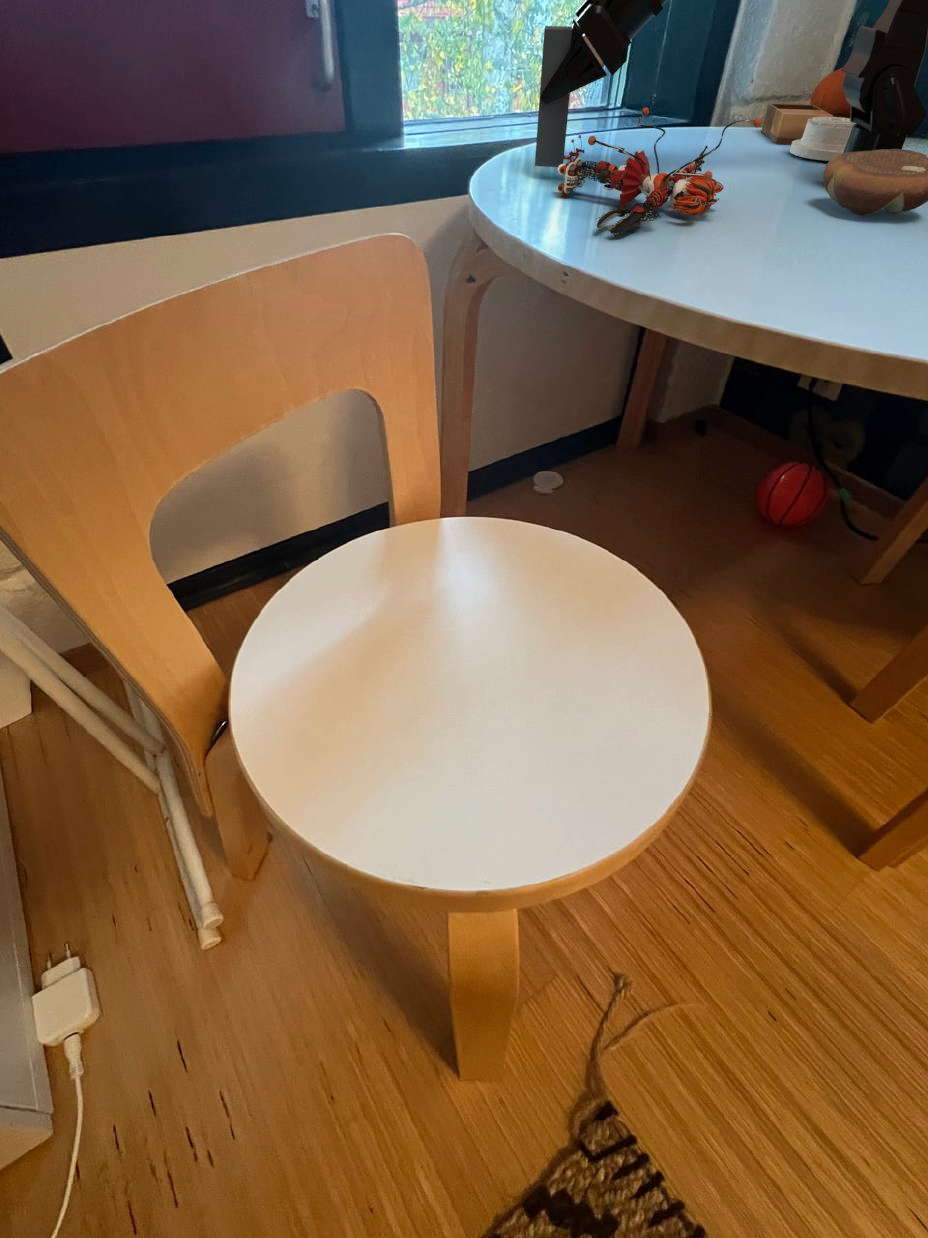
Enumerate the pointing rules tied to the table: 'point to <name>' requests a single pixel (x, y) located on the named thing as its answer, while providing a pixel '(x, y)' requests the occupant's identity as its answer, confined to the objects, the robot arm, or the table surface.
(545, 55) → the grey tall block
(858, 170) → the bread
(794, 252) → the table surface
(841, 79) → the fruit
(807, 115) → the open wooden box
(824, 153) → the mechanical component
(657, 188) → the striped bug figure
